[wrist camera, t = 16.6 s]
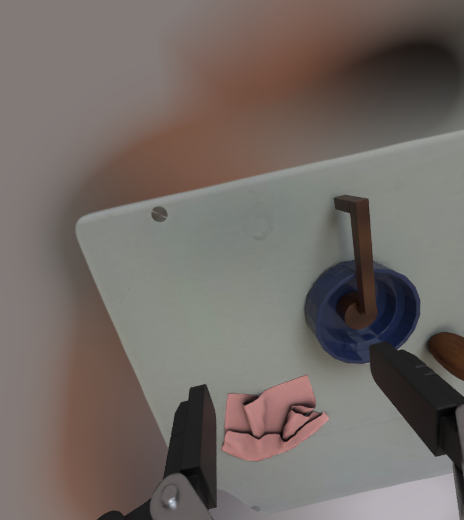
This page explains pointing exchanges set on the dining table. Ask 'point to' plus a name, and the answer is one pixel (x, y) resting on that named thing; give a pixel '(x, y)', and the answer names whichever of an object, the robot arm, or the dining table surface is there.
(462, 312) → the dining table surface
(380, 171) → the dining table surface
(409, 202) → the dining table surface
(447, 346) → the wooden figurine
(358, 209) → the ladle
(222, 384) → the dining table surface
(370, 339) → the bowl
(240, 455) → the cloth
